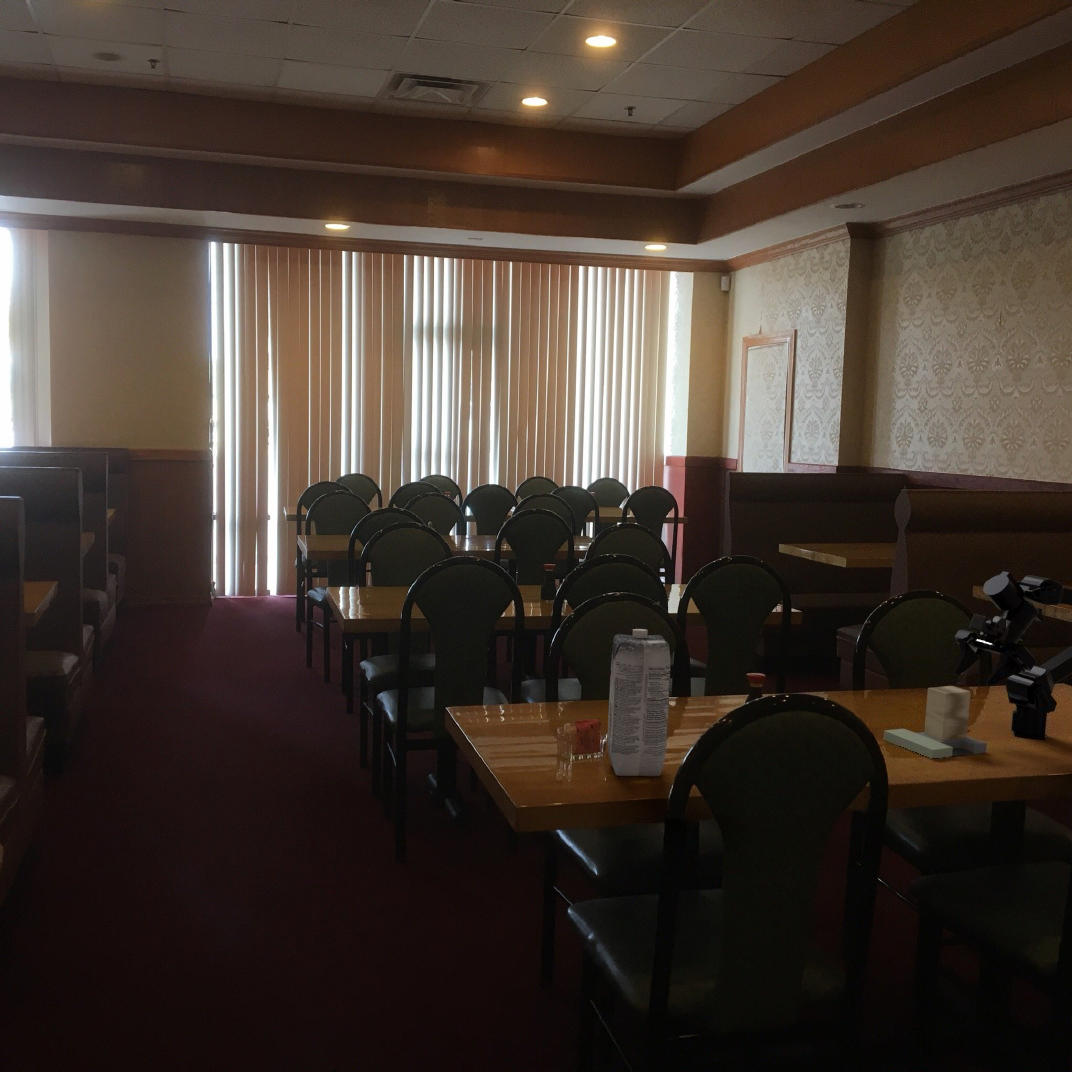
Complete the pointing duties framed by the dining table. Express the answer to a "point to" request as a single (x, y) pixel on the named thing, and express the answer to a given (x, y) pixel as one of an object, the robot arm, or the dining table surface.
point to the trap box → (934, 744)
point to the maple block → (947, 712)
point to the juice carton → (638, 704)
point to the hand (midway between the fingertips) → (971, 679)
